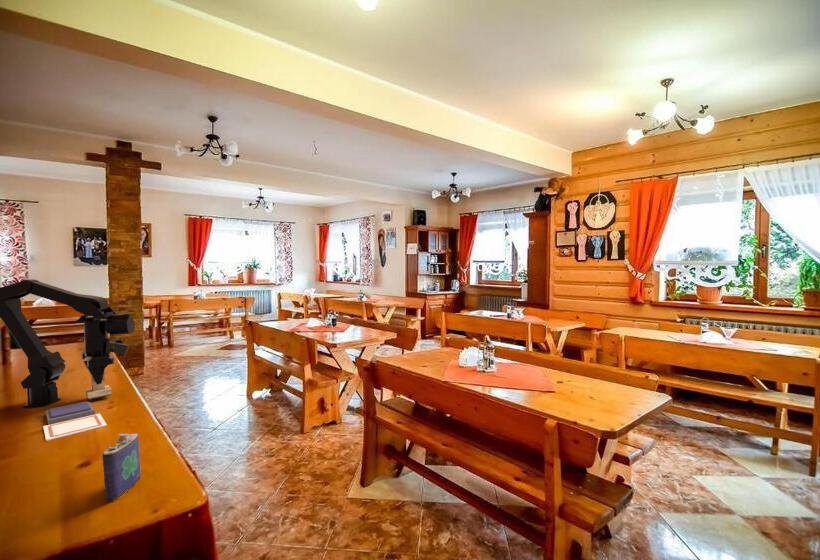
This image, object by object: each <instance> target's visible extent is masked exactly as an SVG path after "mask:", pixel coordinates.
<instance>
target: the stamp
mask: <svg viewBox="0 0 820 560" xmlns="http://www.w3.org/2000/svg"><path fill="white" fill-rule="evenodd" d="M90 375H91V374H90ZM90 378H91V388H86V389H85V396H86V397H87V399H88V400H93V399H97V398H98V399H99V398H103V397H108V396H111V395H112V393H113V391H112V387H111V386H110V385H109V384H107V385H106V383H105V381H106V379H105V373H104V374H103V378H102V382H101V384H96V382H95V380H94V378H93V377H92V375H91V377H90Z"/></svg>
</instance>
